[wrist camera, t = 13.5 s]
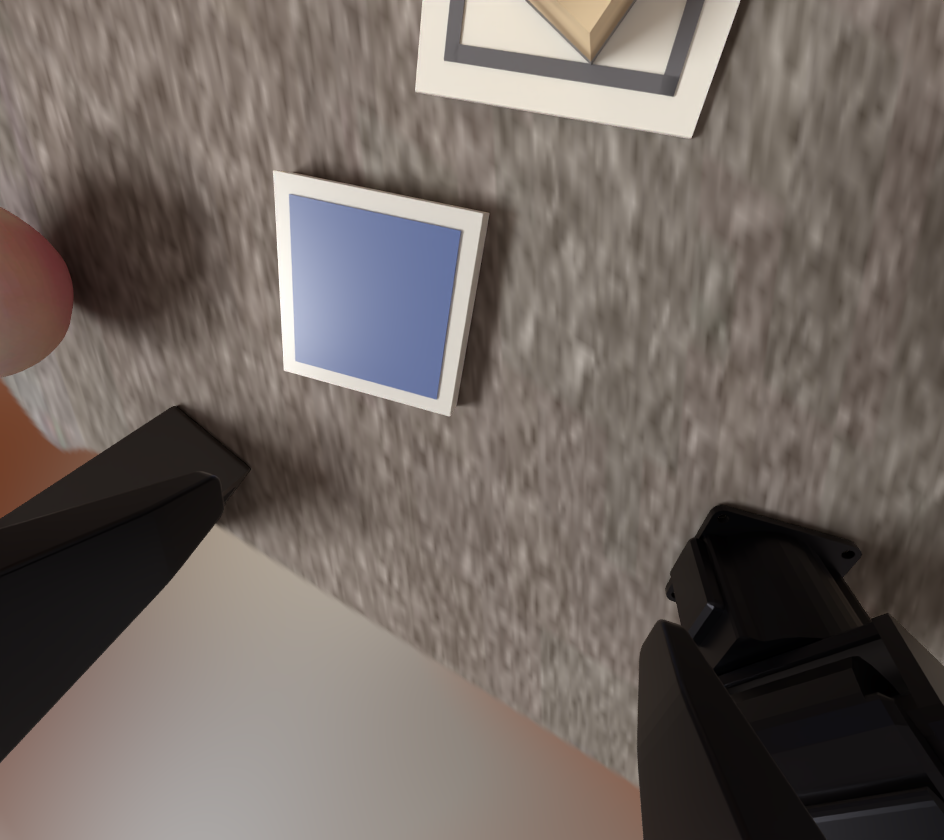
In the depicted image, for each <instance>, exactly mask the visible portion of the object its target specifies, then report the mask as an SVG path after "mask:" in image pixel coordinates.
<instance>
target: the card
mask: <svg viewBox="0 0 944 840" xmlns="http://www.w3.org/2000/svg"><path fill="white" fill-rule="evenodd" d="M739 3H740V0H637V1H636V2H635V3H634V5H633V6H632V8H631V9H630V11H629V12H628V13H627V15H626V16H625V18H624V19H623V21H622V22H621V23H620V25H619V26H618V28H617V29H616V31H615V32H614V33H613V35H612V36H611V38H610V39H609V41H608V42H607V43H606V45H605V46H604V48H603V49H602V51H601V52H600V53H599V55H598V56H597V58H596V59H595V60H594V62H593V63H592V65H590V64H589V63H588V62H587V61H586V60H585V59H584V58H583V57H582V56H581V55H580V54H579V53H578V52H577V51H576V50H575V49H574V48H573V47H572V46H571V45H570V44H569V43H568V42H567V41H566V40H565V39H564V38H563V37H562V36H561V35H560V34H559V33H558V32H557V31H556V30H555V29H554V28H553V27H552V26H551V25H550V24H549V23H548V22H547V21H546V20H545V19H543V18H542V17H541V16H540V15H539V14H538V13H537V12H536V11H535V10H534V9H533V8H532V7H531V6H530V5H529V4H528V3H527V2H526V1H525V0H423V3H422V15H421V27H420V39H419V51H418V63H417V75H416V87H415V91H416V92H417V93H421V94H427V95H433V96H439V97H445V98H451V99H457V100H463V101H469V102H475V103H480V104H486V105H492V106H498V107H504V108H510V109H516V110H522V111H528V112H534V113H539V114H545V115H551V116H557V117H563V118H569V119H575V120H581V121H587V122H593V123H599V124H604V125H610V126H616V127H622V128H628V129H634V130H640V131H646V132H652V133H658V134H663V135H669V136H675V137H681V138H687V139H690V138H692V135H693V132H694V129H695V126H696V124H697V121H698V118H699V115H700V112H701V110H702V107H703V104H704V101H705V98H706V95H707V93H708V90H709V87H710V84H711V81H712V79H713V76H714V73H715V70H716V67H717V65H718V62H719V59H720V56H721V53H722V51H723V48H724V45H725V42H726V39H727V36H728V34H729V31H730V28H731V25H732V22H733V20H734V17H735V14H736V11H737V8H738V6H739Z"/></svg>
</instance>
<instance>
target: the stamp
mask: <svg viewBox="0 0 944 840" xmlns="http://www.w3.org/2000/svg"><path fill="white" fill-rule="evenodd" d="M525 1H526V2H527V3H528V4H529V5H530V6H531V7H532V8H533V9H534V10H535V11H536V12H537V13H538V14H539V15H540V16H541V17H542V18H543V19H545V20H546V21H547V22H548V23H549V24H550V25H551V26H552V27H553V28H554V29H555V30H556V31H557V32H558V33H559V34H560V35H561V36H562V37H563V38H564V39H565V40H566V41H567V42H568V43H569V44H570V45H571V46H572V47H573V48H574V49H575V50H576V51H577V52H578V53H579V54H580V55H581V56H582V57H583V58H584V59H585V60H586V61H587V62H588V63H589V64H590V65H592V63H593V62H594V60H595V59H596V58H597V56H598V55H599V53H600V52H601V51H602V49H603V48H604V46H605V45H606V43H607V42H608V41H609V39H610V38H611V36H612V35H613V33H614V32H615V31H616V29H617V28H618V26H619V25H620V23H621V22H622V21H623V19H624V18H625V16H626V15H627V13H628V12H629V11H630V9H631V8H632V6H633V5H634V3H635V2H636V1H637V0H525Z"/></svg>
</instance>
